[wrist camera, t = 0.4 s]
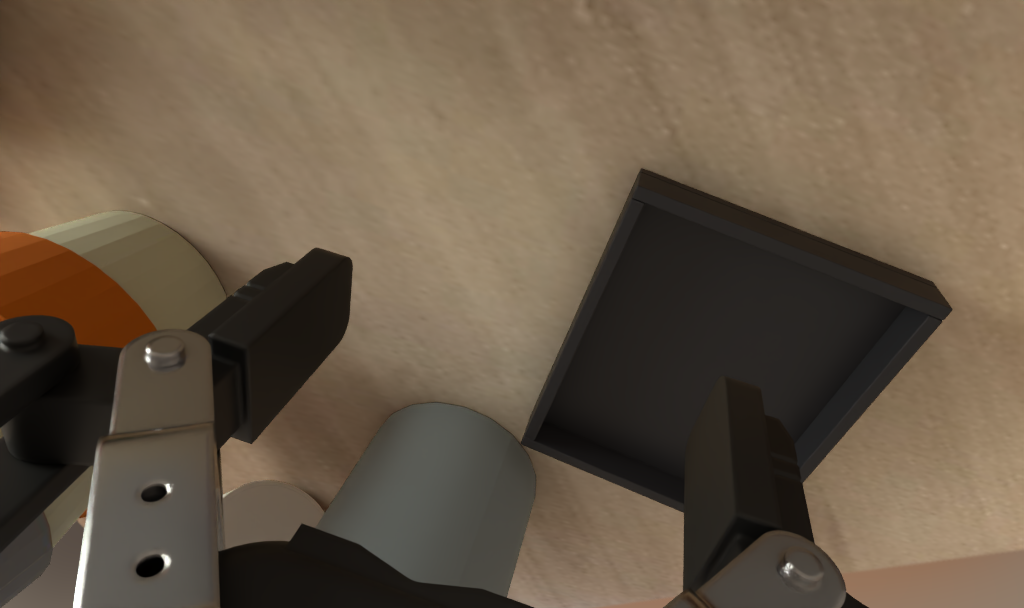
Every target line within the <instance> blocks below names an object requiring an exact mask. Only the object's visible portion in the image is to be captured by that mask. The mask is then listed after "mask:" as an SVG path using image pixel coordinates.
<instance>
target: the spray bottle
mask: <svg viewBox="0 0 1024 608" xmlns="http://www.w3.org/2000/svg"><path fill="white" fill-rule="evenodd" d="M535 490H536V475H535V472H534V469H533V467H532V464H531V461H530V458H529V456H528V454H527V453H526V452H525V450H524V449H523V448H522V447H521V445H520V444H519V443H518V441H517V440H516V439H515V438H514V436H513V435H512V434H510V433H509V432H508V431H506V430H505V429H504V428H502V427H501V426H500V425H498V424H497V423H496V422H494V421H493V420H492V419H491V418H488V417H486V416H484V415H481V414H479V413H477V412H475V411H472V410H470V409H468V408H465V407H461V406H456V405H450V404H444V403H438V402H435V403H425V404H414V405H411V406H408V407H406V408H404V409H402V410H400V411H397V412H395V413H393V414H392V415H391V416H390V417H389V418H388V419H387V421H386V422H385V423H384V424H383V425H382V426H381V427H380V429H379V430H378V432H377V433H376V435H375V436H374V438H373V439H372V441H371V442H370V444H369V445H368V447H367V449H366V450H365V452H364V453H363V455H362V456H361V458H360V459H359V461H358V462H357V464H356V466H355V467H354V469H353V470H352V472H351V473H350V475H349V476H348V478H347V479H346V481H345V483H344V484H343V486H342V487H341V489H340V490H339V492H338V493H337V495H336V496H335V498H334V500H333V501H332V503H331V504H330V506H329V507H328V509H327V510H326V512H325V513H324V515H323V516H322V518H321V520H320V521H319V523H318V524H317V526H316V527H315V528H316V529H319V530H322V531H324V532H327V533H330V534H333V535H335V536H338V537H341V538H344V539H346V540H349V541H352V542H355V543H358V544H360V545H361V546H363V547H364V548H366V549H367V550H368V551H370V552H371V553H373V554H374V555H376V556H377V557H379V558H380V559H381V560H383V561H384V562H386V563H387V564H389V565H390V566H392V567H393V568H395V569H396V570H397V571H399V572H400V573H402V574H403V575H405V576H406V577H408V578H409V579H411V580H413V581H416V582H422V583H431V584H441V585H451V586H460V587H470V588H480V589H484V590H487V591H490V592H493V593H495V594H498V595H501V596H504V597H506V598H507V595H508V591H509V588H510V584H511V580H512V577H513V573H514V570H515V566H516V563H517V559H518V556H519V552H520V548H521V545H522V541H523V538H524V534H525V531H526V527H527V524H528V520H529V516H530V513H531V509H532V506H533V502H534V499H535Z"/></svg>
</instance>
